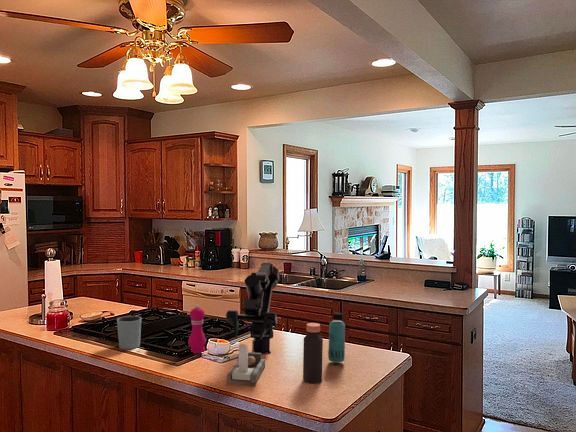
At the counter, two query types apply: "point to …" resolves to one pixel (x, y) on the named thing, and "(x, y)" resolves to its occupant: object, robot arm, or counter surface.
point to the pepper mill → (197, 330)
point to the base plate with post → (257, 367)
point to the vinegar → (312, 354)
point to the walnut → (251, 360)
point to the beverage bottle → (336, 339)
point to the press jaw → (243, 365)
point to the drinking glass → (129, 332)
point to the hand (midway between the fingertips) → (248, 338)
